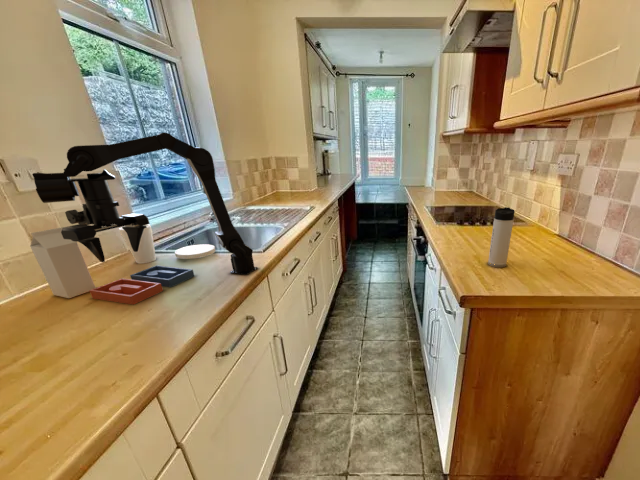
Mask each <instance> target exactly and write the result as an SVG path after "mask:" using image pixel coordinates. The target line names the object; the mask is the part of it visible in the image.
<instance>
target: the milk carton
mask: <svg viewBox="0 0 640 480" xmlns="http://www.w3.org/2000/svg"><path fill="white" fill-rule="evenodd" d="M63 227H64V226H62V227H61V226H60V227H56V228H50V229H46V230H40V231H34V232H30V234H31V237H32V238H31V242H30V246H29V247H30V249H31V251H32V253H33V255H34V257H35V260H36V262H37V263H38V266H39V268H40V269H41V272H42V274H43V276H44V279H45V281H46V282H47V284H48V286H49V289H50V290H51V292H52V295H53V296H57V297H62V298H66V299H72V298H75V297H78V296H81V295H82V294H86V293H88V292H89V293H90V291H89V290H92V289H95V288H97V287H96V285H95V283H94V279H93V278H92V275H91V273H90V271H89V268H88V266H87V263H86V261H85V258H84V255H83V253H82V251H81V249H80V247H79V244H78V242H76V241H72V240H69V239H64V238H63V236H62V234H61V231H62V228H63Z"/></svg>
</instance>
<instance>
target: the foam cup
mask: <svg viewBox="0 0 640 480" xmlns="http://www.w3.org/2000/svg"><path fill="white" fill-rule="evenodd" d="M143 226H146V228H144V231H143V233H142V236H141V240H140V244H139V248H138V251H137V252H134V251H133V249H132V247H131V244H130V241H129V238H128V235H127V233H126V231H125V230H124V229H123V228H122V227H123V226H122V227H118V230H119V233H120V236H121V237H123V240H124V242H125V244H126V246H127V247H128V250H129V251H130V253H131V255H132V257H133V259H134V261H135V263H136V264H148V263H152V262H154V261H156V260H157V255H156V249H155V242H154V238H153V237H154V236H153V228H152V226H151V224H147V225H143Z"/></svg>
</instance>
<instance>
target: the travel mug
mask: <svg viewBox="0 0 640 480" xmlns="http://www.w3.org/2000/svg"><path fill="white" fill-rule="evenodd" d="M515 212H516V211H515V210H514V209H513V208H511V207H507V206H504V207H500V208H497V209H495V211H494V218H493V223H492V231H491V237H490V238H491V239H490V246H489V253H488V260H487V264H488V266H490V267H491V268H500V269H501V268H505V267H506V266H507V263H508V262H507V261H508V257H509V250H510V245H511V238H512V231H513V227H514V226H513V225H514V220H515V218H514V217H515ZM490 263H491V264H490ZM494 264H495V265H494Z"/></svg>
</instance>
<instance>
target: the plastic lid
mask: <svg viewBox="0 0 640 480" xmlns="http://www.w3.org/2000/svg"><path fill="white" fill-rule="evenodd" d="M215 252H216V246H215V245H214V244H208V243H207V244H205V243H201V244H200V243H199V244H191V245H187V246H182V247H180V248H177V249H176V250H175V251H174V255H175V258H177V259H182V260H190V259H192V260H193V259H198V258H203V257H204V258H205V257H208V256H210V255H213V254H215Z"/></svg>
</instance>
